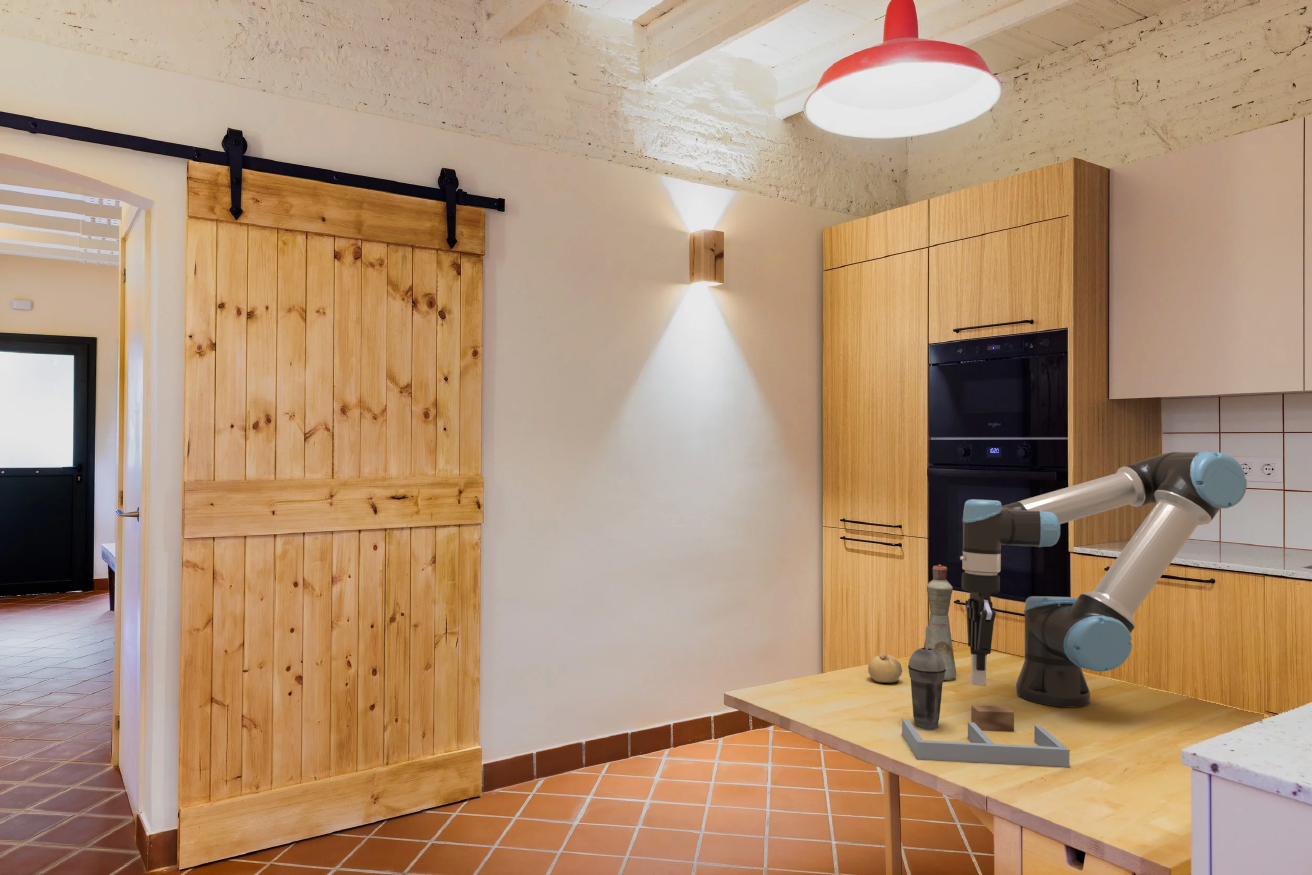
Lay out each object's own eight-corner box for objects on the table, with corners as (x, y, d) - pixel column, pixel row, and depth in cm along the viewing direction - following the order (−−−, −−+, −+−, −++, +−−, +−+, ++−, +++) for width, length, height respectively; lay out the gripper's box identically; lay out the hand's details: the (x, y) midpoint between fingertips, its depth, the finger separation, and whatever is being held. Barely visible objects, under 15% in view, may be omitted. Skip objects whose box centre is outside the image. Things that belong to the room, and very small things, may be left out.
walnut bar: (1006, 725, 163) (1006, 706, 163) (1014, 732, 159) (1014, 712, 159) (971, 724, 163) (971, 704, 163) (978, 731, 159) (978, 711, 159)
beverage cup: (945, 722, 164) (946, 624, 164) (945, 733, 157) (946, 631, 157) (907, 718, 166) (908, 621, 167) (906, 729, 159) (907, 627, 160)
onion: (862, 677, 198) (863, 648, 198) (893, 676, 199) (894, 648, 199) (875, 686, 190) (875, 656, 190) (907, 686, 191) (907, 656, 191)
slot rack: (1040, 741, 153) (1040, 725, 154) (1069, 766, 141) (1069, 749, 141) (901, 734, 156) (902, 718, 156) (917, 758, 143) (917, 741, 143)
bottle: (920, 680, 196) (921, 565, 197) (918, 671, 205) (919, 561, 205) (958, 683, 193) (959, 567, 194) (954, 674, 202) (955, 562, 203)
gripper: (954, 567, 177) (951, 675, 176) (971, 575, 164) (968, 692, 163) (989, 569, 176) (986, 677, 175) (1009, 577, 163) (1007, 694, 162)
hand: (978, 684), depth 169 cm, fingers closed
